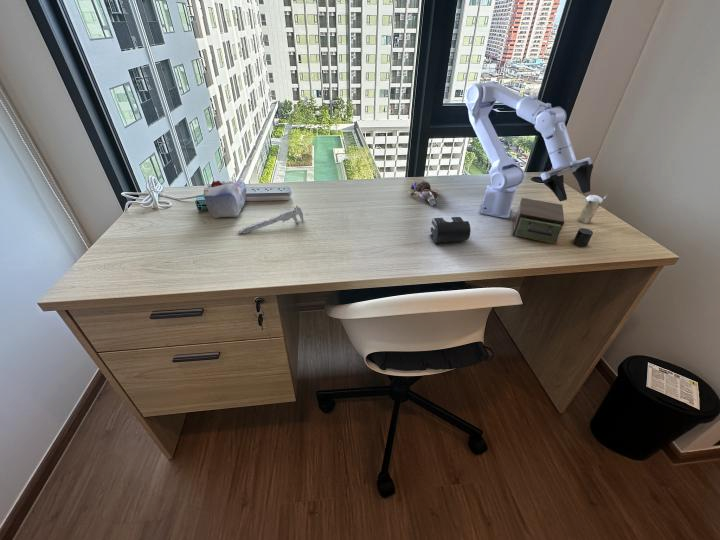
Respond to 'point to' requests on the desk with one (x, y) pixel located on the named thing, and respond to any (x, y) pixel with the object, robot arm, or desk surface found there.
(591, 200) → the milkshake
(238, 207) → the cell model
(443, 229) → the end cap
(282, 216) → the caliper
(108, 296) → the desk surface
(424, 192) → the warrior figurine
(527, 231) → the drawer
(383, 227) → the desk surface
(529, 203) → the cabinet
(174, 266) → the desk surface
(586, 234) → the cylinder
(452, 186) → the desk surface
